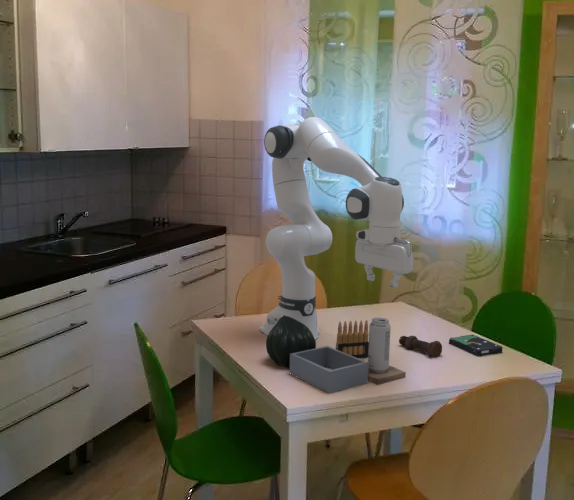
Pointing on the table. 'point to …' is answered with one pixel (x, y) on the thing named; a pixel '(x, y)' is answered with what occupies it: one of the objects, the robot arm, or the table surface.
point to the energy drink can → (379, 345)
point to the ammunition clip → (353, 340)
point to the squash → (288, 340)
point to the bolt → (422, 345)
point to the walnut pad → (385, 375)
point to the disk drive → (475, 345)
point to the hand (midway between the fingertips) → (382, 283)
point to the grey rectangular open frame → (342, 376)
